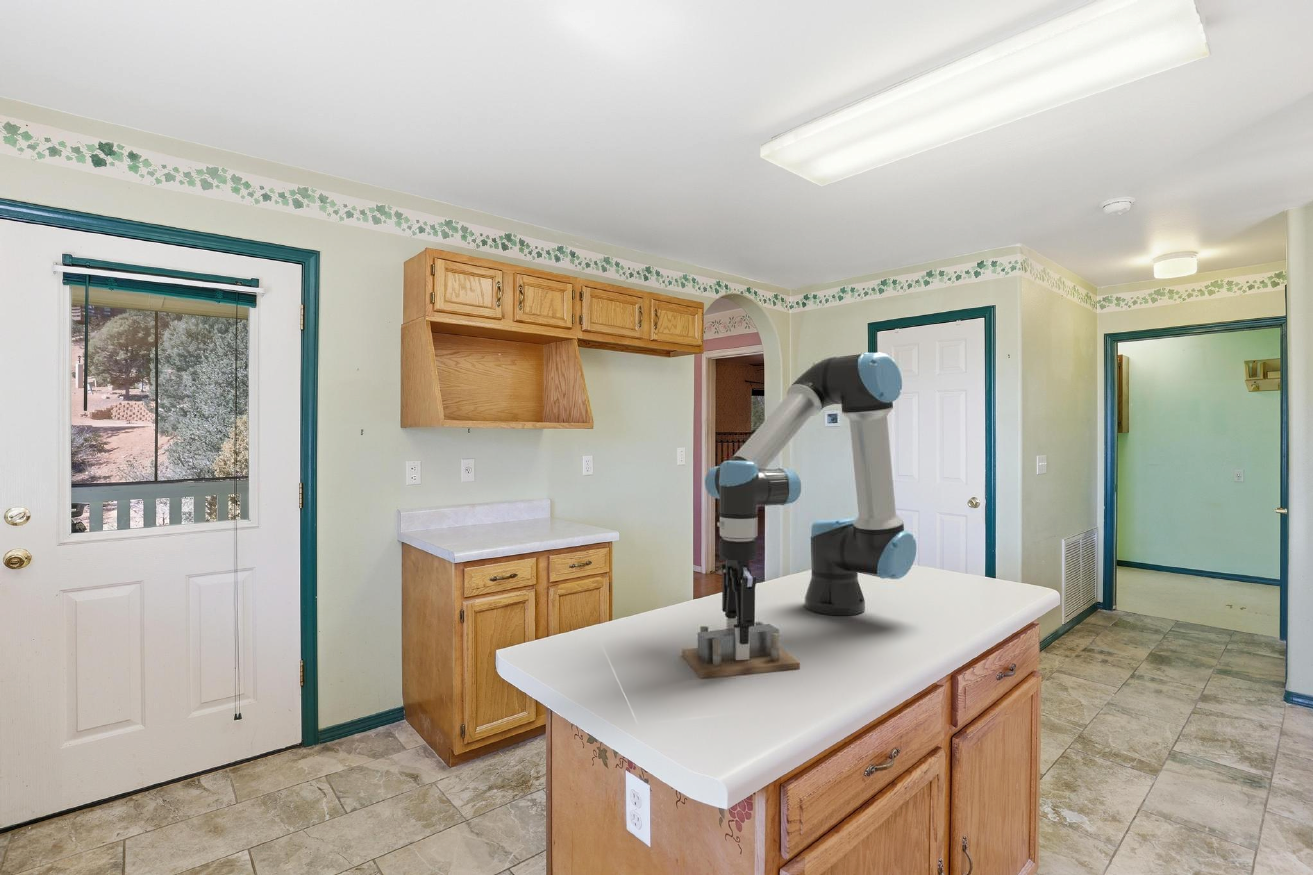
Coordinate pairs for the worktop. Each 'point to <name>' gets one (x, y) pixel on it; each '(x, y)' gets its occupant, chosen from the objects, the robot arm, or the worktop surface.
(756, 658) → the peg rack
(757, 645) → the steel bar
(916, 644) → the worktop surface
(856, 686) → the worktop surface
